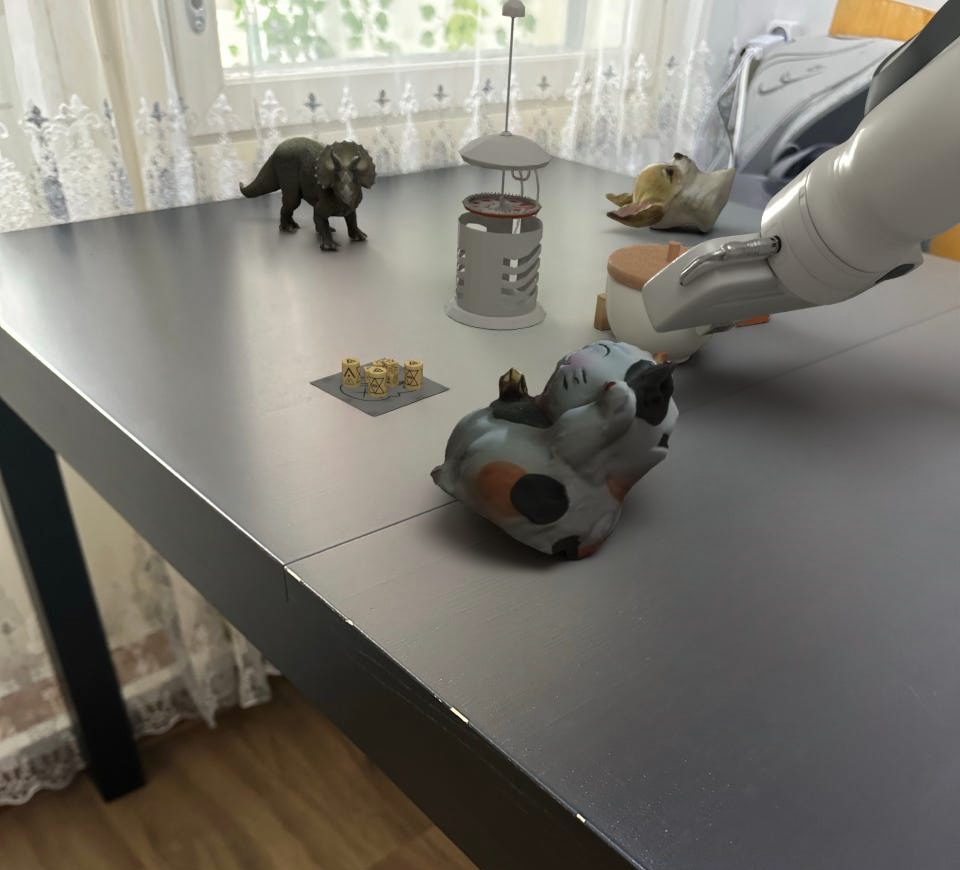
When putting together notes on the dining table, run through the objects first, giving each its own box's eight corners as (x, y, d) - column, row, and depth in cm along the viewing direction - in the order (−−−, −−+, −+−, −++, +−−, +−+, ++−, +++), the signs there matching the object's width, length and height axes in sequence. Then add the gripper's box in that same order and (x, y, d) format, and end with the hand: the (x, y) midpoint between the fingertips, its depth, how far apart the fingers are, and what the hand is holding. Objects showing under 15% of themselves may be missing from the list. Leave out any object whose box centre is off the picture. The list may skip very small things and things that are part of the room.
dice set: (426, 386, 77) (426, 363, 76) (378, 403, 74) (377, 380, 73) (385, 367, 80) (385, 344, 78) (337, 382, 77) (336, 359, 76)
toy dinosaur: (234, 219, 111) (222, 110, 104) (295, 208, 115) (288, 104, 108) (346, 270, 98) (341, 151, 91) (409, 256, 103) (410, 141, 96)
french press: (426, 315, 89) (431, -4, 74) (479, 281, 98) (493, -12, 82) (521, 337, 86) (548, 9, 71) (568, 300, 95) (600, -1, 79)
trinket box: (598, 324, 90) (611, 220, 84) (712, 335, 89) (733, 230, 83) (595, 369, 81) (609, 256, 76) (721, 381, 81) (745, 268, 75)
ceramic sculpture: (744, 162, 107) (610, 161, 108) (732, 243, 112) (604, 241, 113) (733, 144, 115) (608, 142, 116) (722, 219, 120) (603, 218, 122)
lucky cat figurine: (462, 448, 69) (567, 272, 63) (600, 541, 69) (718, 373, 63) (396, 490, 55) (522, 270, 49) (569, 606, 55) (715, 399, 49)
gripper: (726, 295, 62) (617, 380, 74) (939, 262, 70) (809, 344, 83) (696, 204, 62) (592, 305, 75) (911, 182, 70) (786, 276, 83)
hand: (708, 325), depth 79 cm, fingers closed, pressing on trinket box
